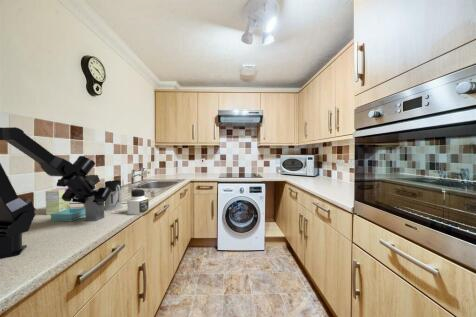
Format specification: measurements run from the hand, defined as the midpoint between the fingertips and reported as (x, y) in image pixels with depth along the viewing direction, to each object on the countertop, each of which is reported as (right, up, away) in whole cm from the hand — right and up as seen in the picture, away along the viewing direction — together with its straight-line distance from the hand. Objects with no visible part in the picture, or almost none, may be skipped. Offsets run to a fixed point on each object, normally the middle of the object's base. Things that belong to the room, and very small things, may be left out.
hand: (97, 204), depth 93 cm
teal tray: (-13, -7, +1) cm, 15 cm away
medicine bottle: (+15, -7, +9) cm, 19 cm away
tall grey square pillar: (0, -7, -1) cm, 7 cm away
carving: (-14, -7, +15) cm, 21 cm away
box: (-28, -7, +11) cm, 31 cm away
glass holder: (-1, -7, +16) cm, 17 cm away
